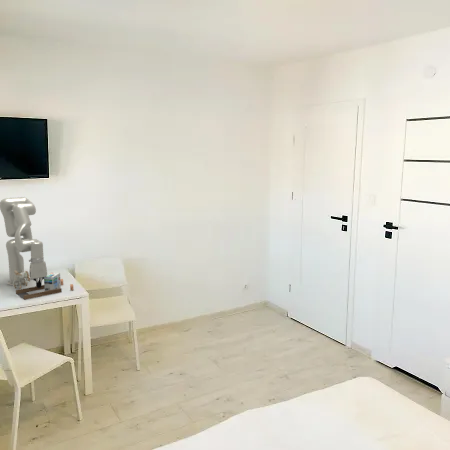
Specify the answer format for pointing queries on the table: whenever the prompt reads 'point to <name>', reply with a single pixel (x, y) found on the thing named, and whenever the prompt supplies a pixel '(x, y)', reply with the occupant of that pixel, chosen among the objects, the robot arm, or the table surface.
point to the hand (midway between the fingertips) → (39, 287)
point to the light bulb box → (52, 281)
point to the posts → (70, 284)
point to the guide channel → (37, 293)
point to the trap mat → (22, 295)
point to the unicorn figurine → (21, 276)
